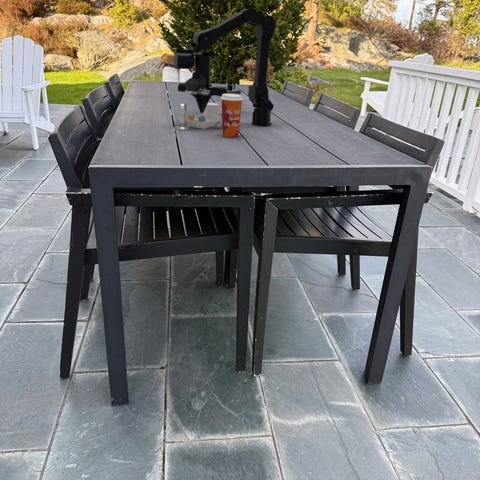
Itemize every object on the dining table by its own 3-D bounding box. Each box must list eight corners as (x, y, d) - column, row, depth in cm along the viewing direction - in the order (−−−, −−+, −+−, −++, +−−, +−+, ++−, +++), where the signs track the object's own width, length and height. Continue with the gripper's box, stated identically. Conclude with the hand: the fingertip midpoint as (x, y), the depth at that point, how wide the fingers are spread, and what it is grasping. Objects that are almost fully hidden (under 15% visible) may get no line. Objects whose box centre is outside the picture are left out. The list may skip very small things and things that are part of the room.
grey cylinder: (217, 123, 177) (218, 105, 174) (201, 122, 178) (201, 104, 175) (221, 120, 183) (222, 103, 180) (205, 119, 184) (206, 102, 181)
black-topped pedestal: (236, 121, 186) (237, 88, 180) (186, 113, 197) (185, 82, 191) (265, 113, 208) (267, 84, 202) (219, 107, 219) (219, 79, 214)
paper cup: (225, 138, 151) (226, 96, 145) (216, 134, 157) (217, 93, 151) (245, 137, 155) (247, 96, 149) (235, 133, 161) (237, 93, 155)
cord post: (191, 128, 164) (191, 103, 160) (184, 130, 160) (184, 105, 156) (180, 127, 166) (180, 102, 162) (173, 128, 162) (172, 103, 158)
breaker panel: (214, 125, 172) (215, 116, 170) (204, 128, 165) (204, 119, 164) (189, 121, 177) (189, 112, 175) (177, 124, 170) (177, 115, 169)
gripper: (168, 68, 158) (169, 112, 165) (212, 72, 151) (211, 118, 157) (186, 67, 167) (186, 109, 174) (228, 71, 160) (227, 114, 167)
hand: (201, 112), depth 168 cm, fingers closed
